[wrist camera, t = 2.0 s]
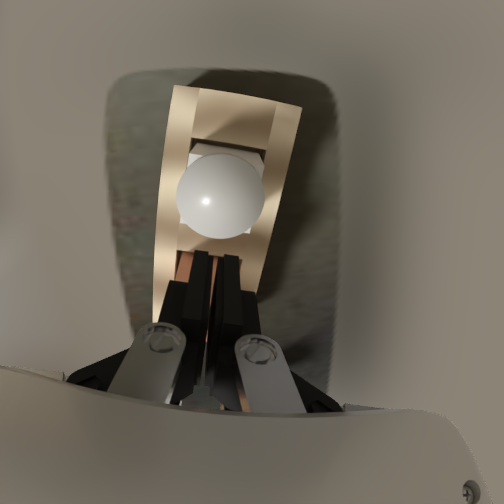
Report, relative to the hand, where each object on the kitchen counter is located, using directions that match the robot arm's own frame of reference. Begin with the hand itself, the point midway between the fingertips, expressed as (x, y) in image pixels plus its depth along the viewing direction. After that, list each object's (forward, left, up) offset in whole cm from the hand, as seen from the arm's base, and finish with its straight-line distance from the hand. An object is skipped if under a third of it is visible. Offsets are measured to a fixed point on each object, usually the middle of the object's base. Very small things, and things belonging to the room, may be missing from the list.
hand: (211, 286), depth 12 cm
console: (+5, 0, -19) cm, 20 cm away
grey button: (0, 0, -15) cm, 15 cm away
